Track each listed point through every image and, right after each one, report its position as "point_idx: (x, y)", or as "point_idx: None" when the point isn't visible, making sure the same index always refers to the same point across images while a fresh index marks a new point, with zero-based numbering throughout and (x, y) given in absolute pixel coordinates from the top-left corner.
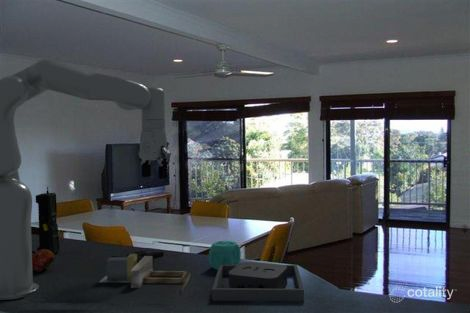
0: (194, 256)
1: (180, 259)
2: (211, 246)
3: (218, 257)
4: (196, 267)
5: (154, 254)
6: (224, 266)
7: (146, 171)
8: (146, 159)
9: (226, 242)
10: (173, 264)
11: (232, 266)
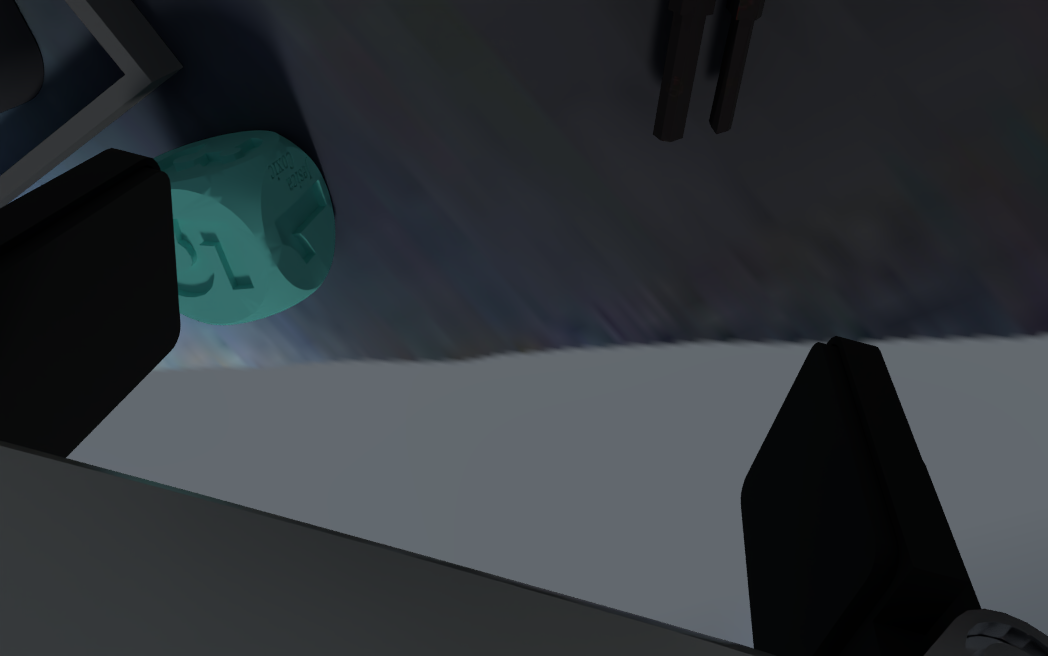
0: (564, 302)
1: (594, 212)
2: (245, 196)
3: (219, 164)
4: (386, 114)
5: (673, 52)
6: (122, 79)
7: (796, 492)
8: (395, 549)
9: (212, 287)
10: (552, 96)
11: (92, 101)
